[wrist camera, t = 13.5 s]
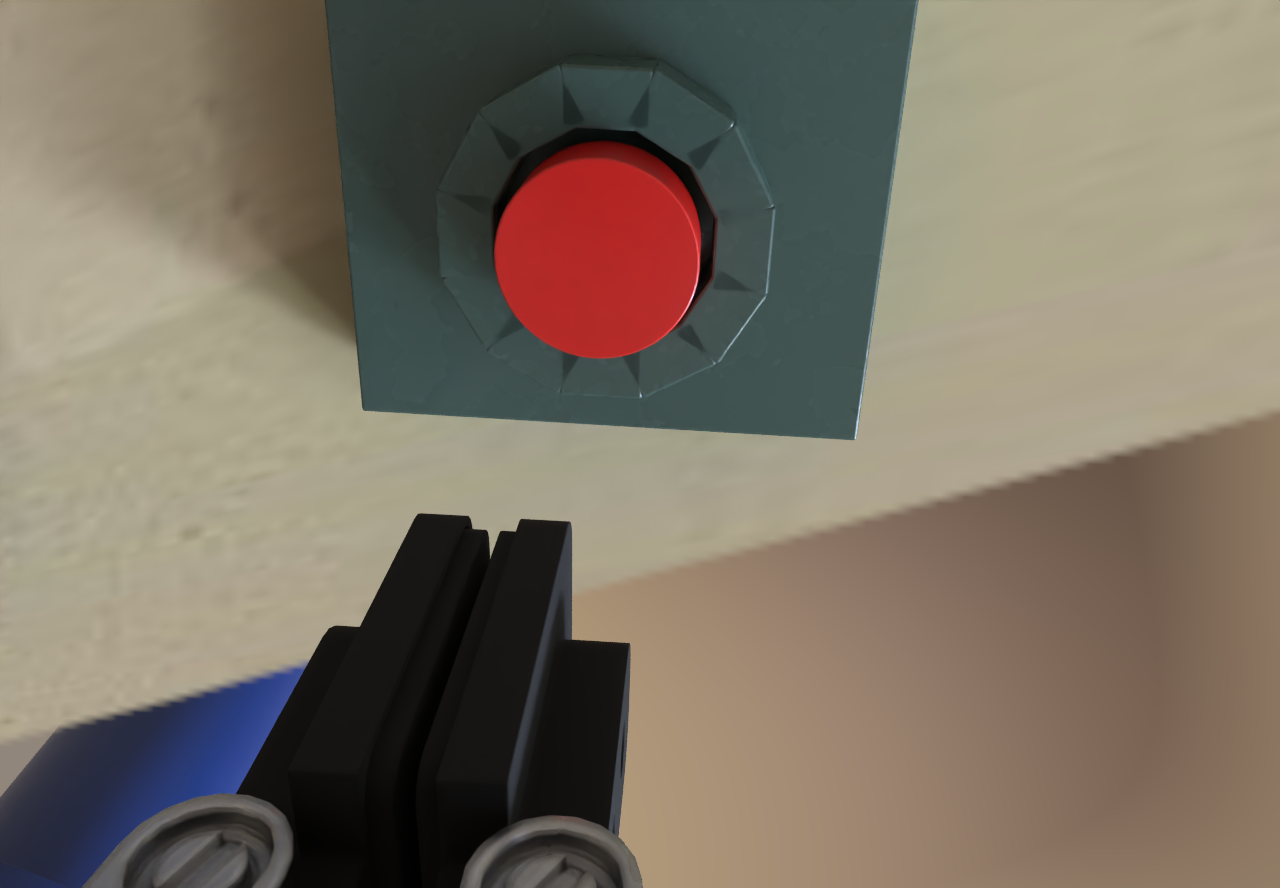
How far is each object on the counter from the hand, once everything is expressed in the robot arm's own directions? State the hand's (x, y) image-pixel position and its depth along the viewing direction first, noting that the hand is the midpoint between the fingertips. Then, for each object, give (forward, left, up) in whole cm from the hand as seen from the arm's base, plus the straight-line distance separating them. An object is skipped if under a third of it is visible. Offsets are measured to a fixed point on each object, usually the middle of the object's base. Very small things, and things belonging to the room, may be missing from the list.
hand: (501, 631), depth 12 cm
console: (+1, 0, -16) cm, 16 cm away
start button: (+1, 0, -12) cm, 12 cm away
